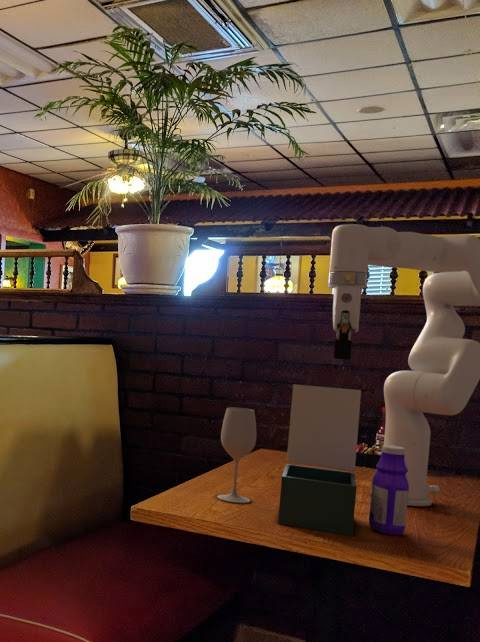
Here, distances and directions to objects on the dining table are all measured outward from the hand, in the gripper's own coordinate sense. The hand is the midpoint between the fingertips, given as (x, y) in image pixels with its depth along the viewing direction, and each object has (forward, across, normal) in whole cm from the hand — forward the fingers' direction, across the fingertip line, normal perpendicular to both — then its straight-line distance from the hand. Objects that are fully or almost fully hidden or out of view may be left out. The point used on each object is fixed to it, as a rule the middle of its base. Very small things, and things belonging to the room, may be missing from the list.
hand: (341, 358), depth 166 cm
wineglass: (+34, -5, +20) cm, 40 cm away
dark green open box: (+34, -13, +3) cm, 37 cm away
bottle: (+34, -13, -10) cm, 38 cm away
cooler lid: (+15, -4, +3) cm, 16 cm away
